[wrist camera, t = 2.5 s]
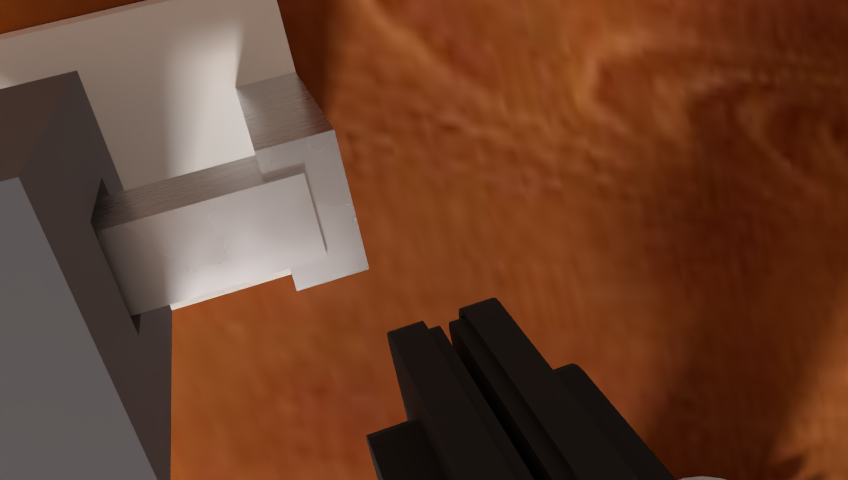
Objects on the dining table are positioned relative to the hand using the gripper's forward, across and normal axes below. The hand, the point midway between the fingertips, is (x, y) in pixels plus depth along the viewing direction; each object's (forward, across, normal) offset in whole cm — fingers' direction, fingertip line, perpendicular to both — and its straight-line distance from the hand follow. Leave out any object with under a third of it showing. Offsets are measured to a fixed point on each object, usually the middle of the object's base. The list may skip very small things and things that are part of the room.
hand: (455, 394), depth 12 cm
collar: (+14, +7, +1) cm, 16 cm away
